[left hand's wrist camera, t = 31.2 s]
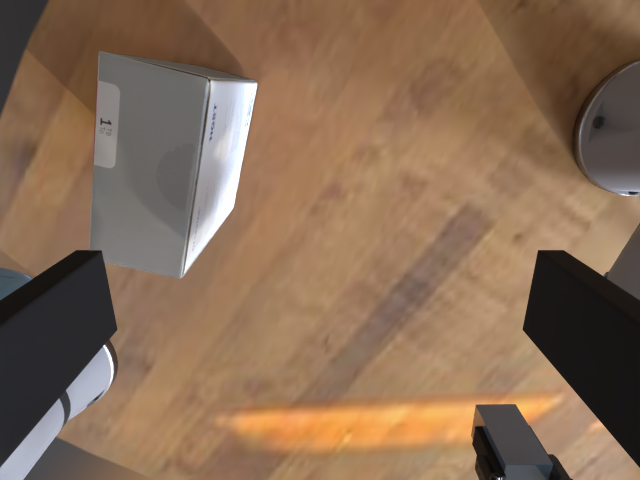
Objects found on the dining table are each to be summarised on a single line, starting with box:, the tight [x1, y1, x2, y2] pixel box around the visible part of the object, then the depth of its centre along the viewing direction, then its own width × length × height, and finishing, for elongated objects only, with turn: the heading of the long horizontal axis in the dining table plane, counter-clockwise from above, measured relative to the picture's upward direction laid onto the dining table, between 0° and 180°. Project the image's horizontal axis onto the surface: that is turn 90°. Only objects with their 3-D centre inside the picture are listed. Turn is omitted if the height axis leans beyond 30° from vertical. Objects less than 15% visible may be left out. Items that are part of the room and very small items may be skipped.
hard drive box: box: [89, 51, 257, 279], centre depth 38 cm, size 16×8×20 cm, turn 166°
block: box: [471, 404, 553, 480], centre depth 45 cm, size 5×5×8 cm
